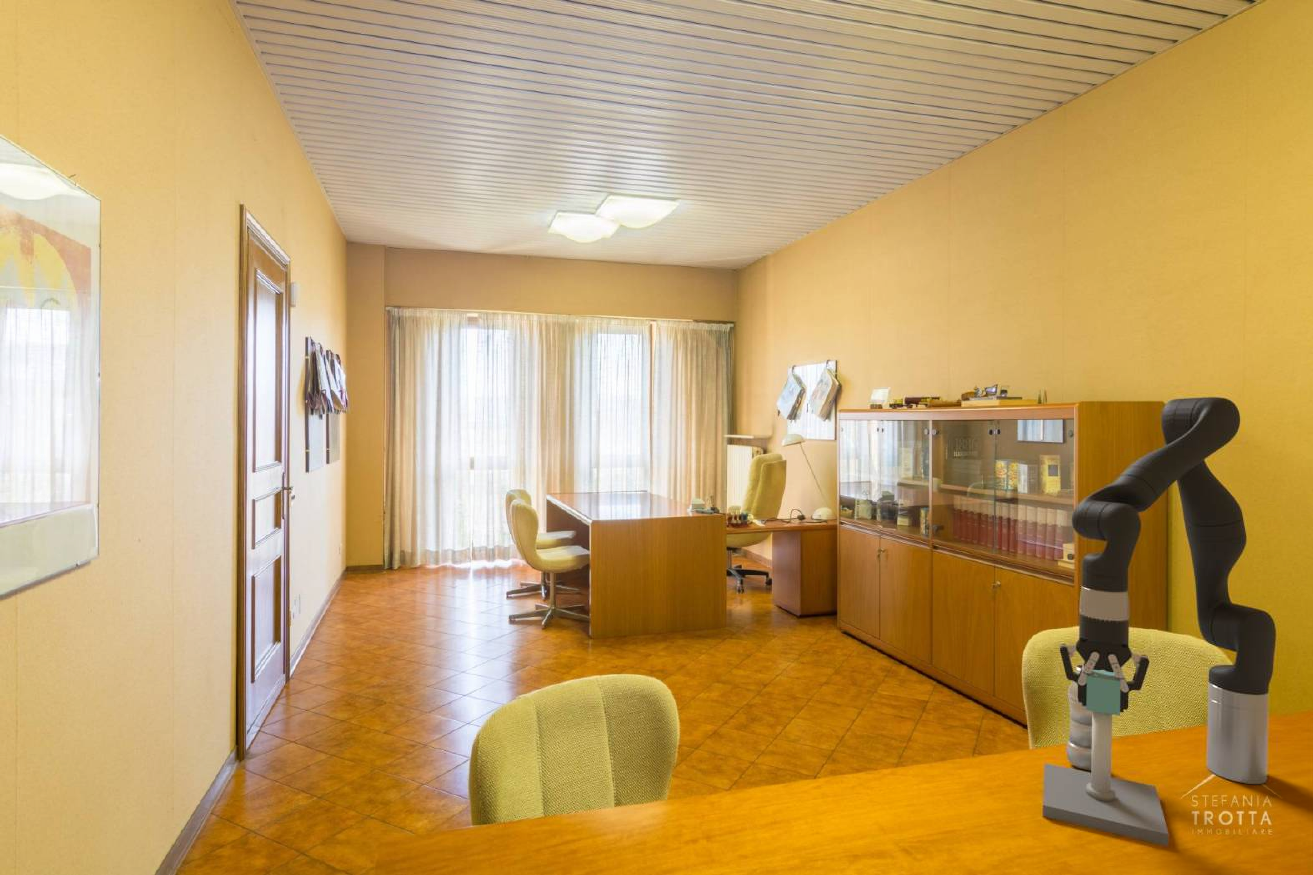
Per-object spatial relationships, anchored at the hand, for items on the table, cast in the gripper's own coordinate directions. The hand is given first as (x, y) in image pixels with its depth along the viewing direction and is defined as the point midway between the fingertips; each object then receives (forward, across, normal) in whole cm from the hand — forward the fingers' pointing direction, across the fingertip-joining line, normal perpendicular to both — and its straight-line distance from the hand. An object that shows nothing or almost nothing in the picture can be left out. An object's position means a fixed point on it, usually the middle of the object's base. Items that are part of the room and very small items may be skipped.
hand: (1102, 707), depth 129 cm
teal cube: (0, 0, 0) cm, 0 cm away
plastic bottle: (+18, +2, -16) cm, 24 cm away
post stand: (+18, 0, 0) cm, 18 cm away
